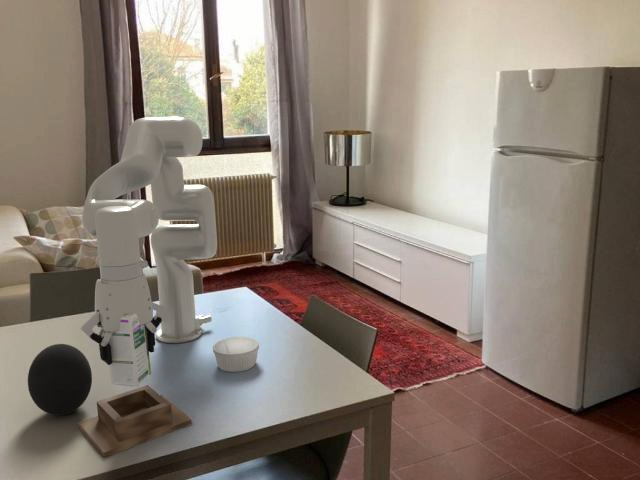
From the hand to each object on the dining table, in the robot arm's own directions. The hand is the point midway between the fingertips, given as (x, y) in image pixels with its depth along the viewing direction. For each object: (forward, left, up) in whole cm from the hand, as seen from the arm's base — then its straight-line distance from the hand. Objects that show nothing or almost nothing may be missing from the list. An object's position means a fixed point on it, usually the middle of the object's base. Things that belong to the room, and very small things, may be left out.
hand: (129, 355), depth 118 cm
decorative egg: (+9, -15, -15) cm, 24 cm away
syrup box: (0, 0, -5) cm, 5 cm away
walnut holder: (0, 0, -15) cm, 15 cm away
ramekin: (-31, -11, -16) cm, 36 cm away
